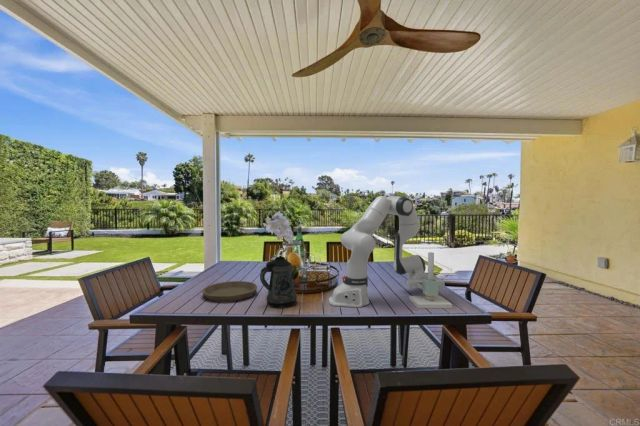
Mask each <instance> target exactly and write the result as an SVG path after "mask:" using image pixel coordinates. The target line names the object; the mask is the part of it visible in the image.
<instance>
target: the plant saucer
mask: <svg viewBox="0 0 640 426" xmlns="http://www.w3.org/2000/svg"><path fill="white" fill-rule="evenodd" d="M257 289H258V285H257V284H256V283H254V282H250V281H243V280H236V281H235V280H233V281H232V280H231V281H224V282H223V281H222V282H218V283H217V282H216V283H213V284H210V285H207V286H206V287H204V288H203V289H202V291H201V292H202V294H203V295H204V297H206V298H207V300H209V301H212V302H217V303H230V302H231V303H232V302H237V301H242V300H245V299H248V298H251V297H252V296H253V295H254V293H256V291H257Z"/></svg>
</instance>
